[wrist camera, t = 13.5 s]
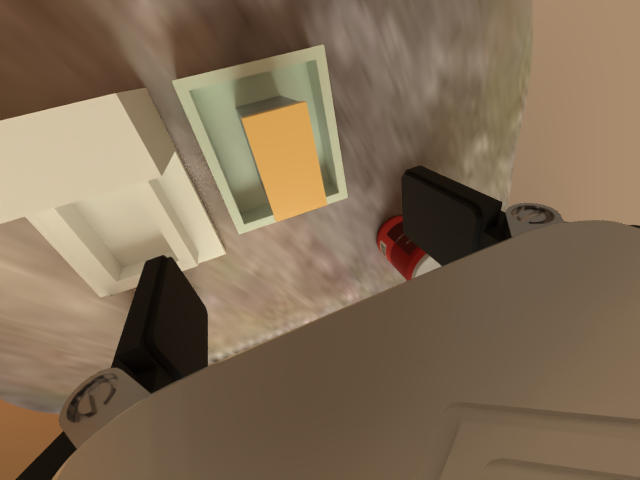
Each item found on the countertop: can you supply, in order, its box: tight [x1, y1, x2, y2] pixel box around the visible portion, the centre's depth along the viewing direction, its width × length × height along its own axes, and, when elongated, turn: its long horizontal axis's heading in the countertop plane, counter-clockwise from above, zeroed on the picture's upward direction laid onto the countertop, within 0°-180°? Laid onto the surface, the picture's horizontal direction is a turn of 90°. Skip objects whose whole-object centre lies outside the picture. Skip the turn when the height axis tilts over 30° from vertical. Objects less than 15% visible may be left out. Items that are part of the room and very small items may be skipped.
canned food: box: [377, 215, 441, 281], centre depth 42 cm, size 8×8×11 cm
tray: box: [172, 44, 348, 234], centre depth 31 cm, size 16×14×4 cm
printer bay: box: [0, 88, 226, 298], centre depth 27 cm, size 20×16×10 cm
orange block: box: [235, 96, 327, 222], centre depth 28 cm, size 9×5×10 cm, turn 12°
